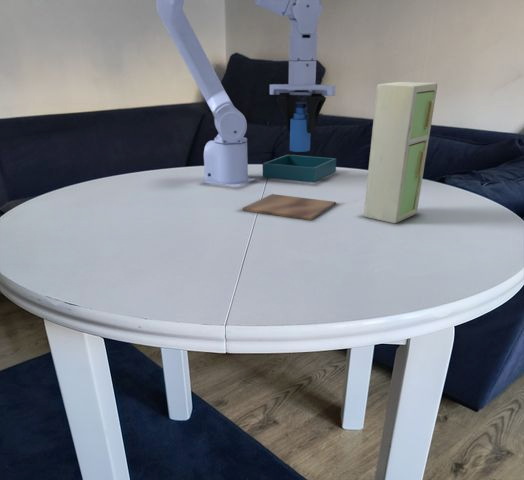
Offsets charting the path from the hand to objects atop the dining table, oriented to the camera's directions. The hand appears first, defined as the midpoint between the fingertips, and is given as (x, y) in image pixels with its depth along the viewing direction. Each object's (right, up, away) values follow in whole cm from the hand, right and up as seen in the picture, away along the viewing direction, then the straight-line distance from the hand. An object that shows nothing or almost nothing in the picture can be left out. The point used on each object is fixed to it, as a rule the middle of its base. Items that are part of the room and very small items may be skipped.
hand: (300, 132), depth 108 cm
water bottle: (0, -3, +2) cm, 4 cm away
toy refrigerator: (+15, -25, -20) cm, 35 cm away
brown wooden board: (-3, -21, -15) cm, 26 cm away
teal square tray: (0, -7, +9) cm, 11 cm away
